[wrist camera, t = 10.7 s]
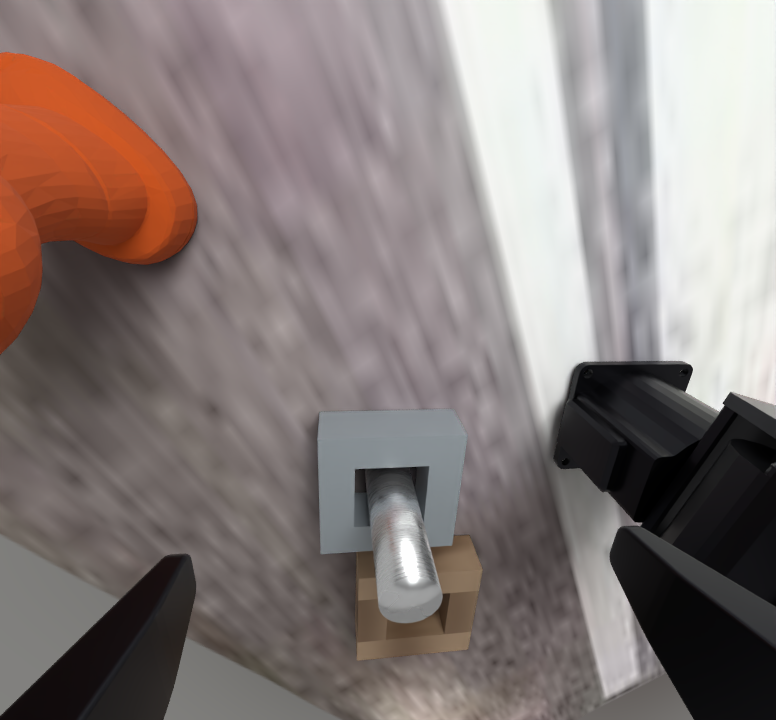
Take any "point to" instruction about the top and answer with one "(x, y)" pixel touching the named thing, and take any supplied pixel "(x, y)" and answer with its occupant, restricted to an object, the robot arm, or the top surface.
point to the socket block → (432, 633)
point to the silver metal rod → (400, 547)
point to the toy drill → (77, 183)
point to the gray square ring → (387, 450)
